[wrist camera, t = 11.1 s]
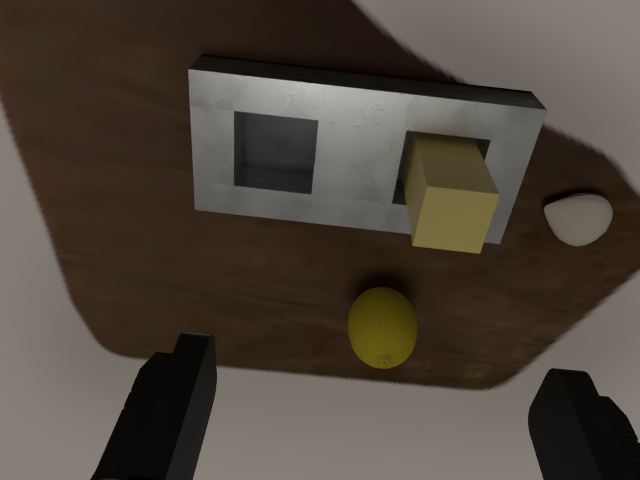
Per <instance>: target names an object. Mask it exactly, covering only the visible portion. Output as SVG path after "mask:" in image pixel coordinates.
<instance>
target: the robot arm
mask: <svg viewBox="0 0 640 480" xmlns="http://www.w3.org/2000/svg"><path fill="white" fill-rule="evenodd" d="M216 384H217V369H216V354H215V339H214V335H213V334H202V333H192V332H182V333H181V334H180V336H179V338H178V340H177V343H176V346H175V348H174V351H173V354H172V353H161V352H156V353H155V354H154V355H153V356H152V357H151V358H150V359H149V360H148V361H147V362H146V363H145V364H144V365H143V366H142V367H141V368H140V370H139V372H138V375H137V377H136V379H135V381H134V384H133V386H132V391H131V392H130V393H129V395H128V398H127V400H126V402H125V405H124V409H122V412H121V414H120V416H119V418H118V421H117V423H116V425H115V428H114V430H113V432H112V434H111V437H110V439H109V441H108V444H107V446H106V448H105V451H104V453H103V455H102V458H101V460H100V462H99V465H98V467H97V469H96V471H95V473H94V475H93V476H92V478H91V479H90V480H193V476H194V472H195V469H196V465H197V461H198V458H199V454H200V450H201V447H202V443H203V439H204V435H205V431H206V428H207V424H208V420H209V417H210V413H211V409H212V405H213V402H214V397H215V392H216ZM528 426H529V432H530V436H531V439H532V443H533V446H534V449H535V453H536V456H537V459H538V463H539V466H540V469H541V472H542V475H543V479H544V480H640V443H638V441H637V440H638V438H637V436H636V434H635V432H634V430H633V428H632V426H631V424H630V422H629V420H628V418H627V416H626V415H625V414H624V413H623V412H622V411H621V410H620V409H619V407H618V406H617V405H616V404H615V403H614V402H613V401H612V400H611V399H610V398H609V397H605V396H599V394H598V392H597V390H596V388H595V386H594V383H593V381H592V379H591V377H590V376H589V374H588V373H586V372H584V371H576V370H565V369H555V368H552V369H550V370H549V371H548V373H547V375H546V376H545V378H544V380H543V383H542V384H541V386H540V388H539V390H538V392H537V394H536V396H535V398H534V400H533V402H532V404H531V406H530V409H529V414H528Z"/></svg>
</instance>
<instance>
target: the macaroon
mask: <svg viewBox="0 0 640 480" xmlns="http://www.w3.org/2000/svg"><path fill="white" fill-rule="evenodd" d="M544 213H545V216H546V219H547V221H548V223H549V226H550V227H551V229H552V230H553V232H554V233H555V235H556V236H557V237H558V238H559V239H560V240H561V241H563V242H565V243H568V244H570V245H573V246H582V245H586V244H589V243H591V242H593V241H595V240H596V239H598V238H599V237H600V236H601V235H602V234H603V233H604V232H606V230H607V228H608V226H609V224H610V223H611V220H612V214H613V212H612V208H611V206H610V204H609V201H607V200H606V198H605V197H603V196H601V195H599V194H594V193H578V194H574V195H571V196H567V197H565V198H562V199H560V200H557V201H555V202H553V203H550V204H548V205H546V206H545V207H544Z"/></svg>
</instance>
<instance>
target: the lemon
mask: <svg viewBox="0 0 640 480" xmlns="http://www.w3.org/2000/svg"><path fill="white" fill-rule="evenodd" d="M348 334H349V338H350V341H351V344H352V347H353V350H354V351H355V353H356V354H357V356H358V357H359V358H360V359H361V360H362V361H363V362H365V363H366V364H368V365H370V366H372V367H376V368H391V367H395V366H397V365H399V364H401V363H402V362H404V361H405V360H406V359H407V358H408V357H409V355H410V354H411V352H412V351H413V348H414V345H415V342H416V338H417V319H416V315H415V312H414V310H413V308H412V305H411V304H410V302H409V301H408V300H407V299H406V297H405V296H404V295H402V294H401V293H400V292H398V291H396V290H394V289H391V288H387V287H376V288H371V289H369V290H367V291H365V292H364V293H362V294H361V295H360V296H359V297H358V298H357V299H356V300H355V302H354V303H353V305H352V307H351V310H350V313H349V317H348Z"/></svg>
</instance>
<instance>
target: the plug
mask: <svg viewBox="0 0 640 480" xmlns="http://www.w3.org/2000/svg"><path fill="white" fill-rule="evenodd" d="M402 180H403V186H404V193H405V199H406V206H407V213H408V219H409V226H410V232H411V239H412V245H413V246H419V247H427V248H436V249H445V250H453V251H462V252H471V253H479V254H480V252H481V249H482V246H483V243H484V240H485V237H486V234H487V231H488V228H489V225H490V222H491V219H492V216H493V213H494V210H495V207H496V204H497V201H498V198H499V195H500V194H499V192H498V190H497V188H496V185H495V183H494V181H493V179H492V177H491V175H490V173H489V170H488V168H487V166H486V164H485V162H484V160H483V158H482V155H481V153H480V151H479V149H478V147H477V145H476V143H475V140H474V138H470V137H461V136H452V135H443V134H435V133H426V132H417V131H411V135H410V140H409V145H408V149H407V154H406V159H405V164H404V169H403V173H402Z"/></svg>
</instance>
